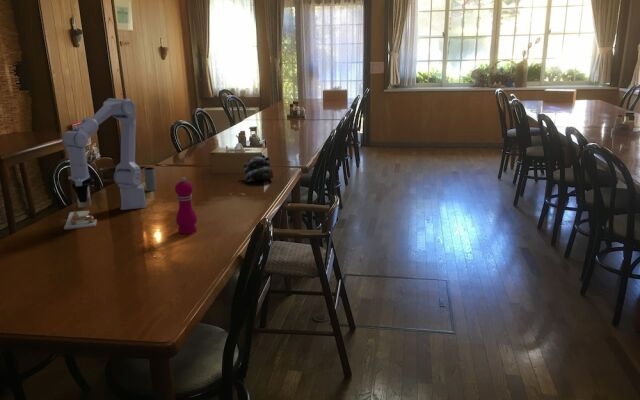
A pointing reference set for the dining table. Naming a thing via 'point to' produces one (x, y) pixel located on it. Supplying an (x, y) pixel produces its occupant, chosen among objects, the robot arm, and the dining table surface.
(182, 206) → the pepper mill
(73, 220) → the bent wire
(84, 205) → the birch block
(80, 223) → the wire base
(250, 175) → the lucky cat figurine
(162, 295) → the dining table surface
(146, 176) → the grey upright cylinder
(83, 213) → the mat
